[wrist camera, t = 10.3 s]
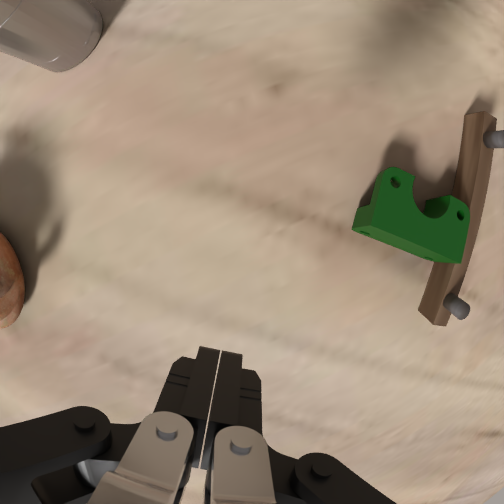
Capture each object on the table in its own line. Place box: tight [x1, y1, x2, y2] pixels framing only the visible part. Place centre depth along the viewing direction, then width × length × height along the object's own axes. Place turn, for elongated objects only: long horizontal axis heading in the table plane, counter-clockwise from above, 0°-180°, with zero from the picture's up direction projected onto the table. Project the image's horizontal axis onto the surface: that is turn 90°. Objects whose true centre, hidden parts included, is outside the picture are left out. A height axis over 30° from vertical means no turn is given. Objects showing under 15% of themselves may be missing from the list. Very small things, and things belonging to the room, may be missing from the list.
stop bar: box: [418, 111, 504, 326], centre depth 28 cm, size 2×24×7 cm, turn 168°
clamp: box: [352, 167, 470, 264], centre depth 29 cm, size 12×6×9 cm, turn 66°
